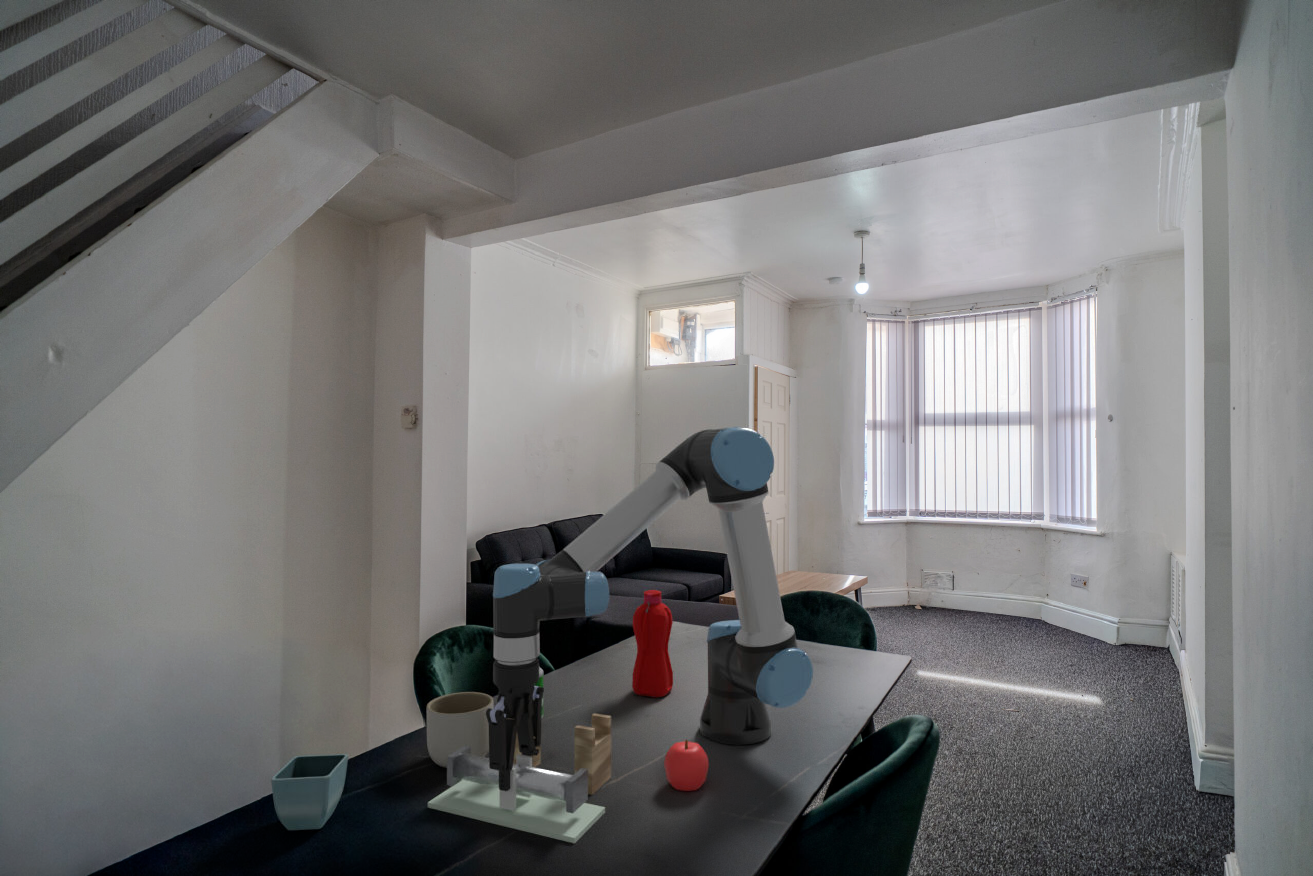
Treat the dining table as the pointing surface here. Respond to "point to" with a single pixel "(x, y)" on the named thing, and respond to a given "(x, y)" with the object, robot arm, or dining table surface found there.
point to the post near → (594, 751)
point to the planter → (458, 725)
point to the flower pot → (309, 790)
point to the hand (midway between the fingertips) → (516, 801)
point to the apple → (686, 766)
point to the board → (518, 811)
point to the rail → (520, 778)
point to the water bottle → (652, 647)
